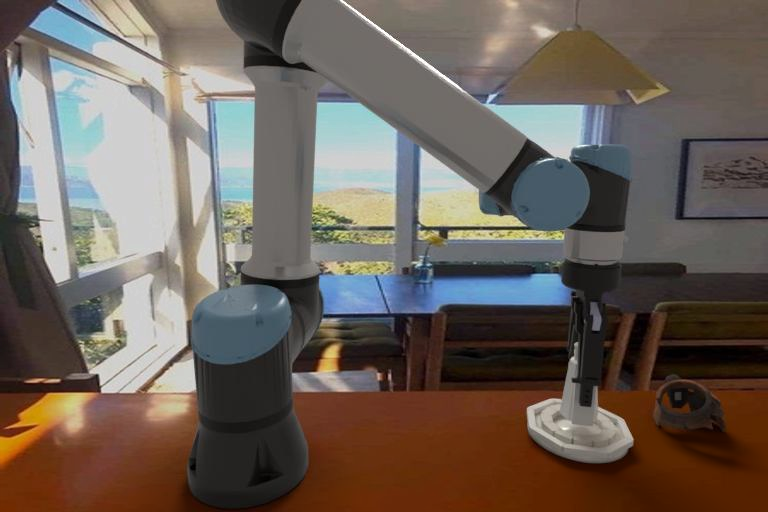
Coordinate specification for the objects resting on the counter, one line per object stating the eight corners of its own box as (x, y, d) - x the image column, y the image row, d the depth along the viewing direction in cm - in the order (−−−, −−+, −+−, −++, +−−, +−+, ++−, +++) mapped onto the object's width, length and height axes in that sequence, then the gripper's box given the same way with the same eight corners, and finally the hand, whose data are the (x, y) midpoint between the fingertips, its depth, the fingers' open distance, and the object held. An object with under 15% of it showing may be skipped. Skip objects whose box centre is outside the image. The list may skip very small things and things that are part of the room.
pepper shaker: (603, 426, 66) (610, 352, 64) (563, 422, 67) (569, 350, 65) (592, 406, 72) (599, 338, 70) (555, 403, 73) (561, 336, 70)
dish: (530, 454, 65) (531, 441, 65) (524, 405, 78) (525, 394, 78) (641, 470, 62) (642, 456, 61) (615, 415, 75) (617, 404, 75)
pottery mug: (745, 446, 68) (735, 407, 65) (678, 466, 70) (665, 429, 67) (698, 389, 79) (687, 353, 76) (641, 407, 81) (628, 373, 78)
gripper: (640, 275, 55) (621, 453, 60) (606, 248, 73) (593, 387, 77) (573, 272, 57) (559, 445, 62) (555, 246, 75) (545, 382, 79)
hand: (578, 412), depth 69 cm, fingers closed on pepper shaker, 5 cm apart
